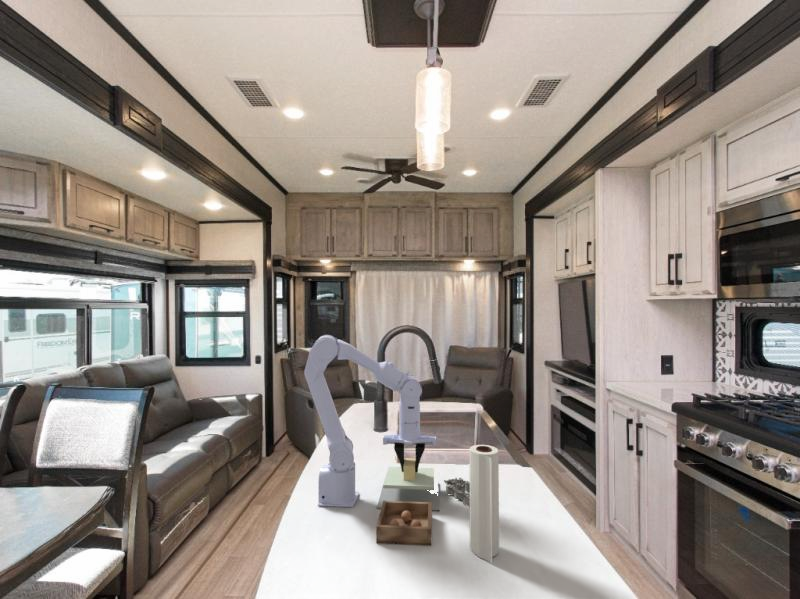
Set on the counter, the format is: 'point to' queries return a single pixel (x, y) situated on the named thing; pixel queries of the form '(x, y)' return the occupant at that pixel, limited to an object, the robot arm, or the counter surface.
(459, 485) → the egg carton
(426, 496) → the mat
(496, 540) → the paper towel roll
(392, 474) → the lid
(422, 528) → the box base
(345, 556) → the counter surface
